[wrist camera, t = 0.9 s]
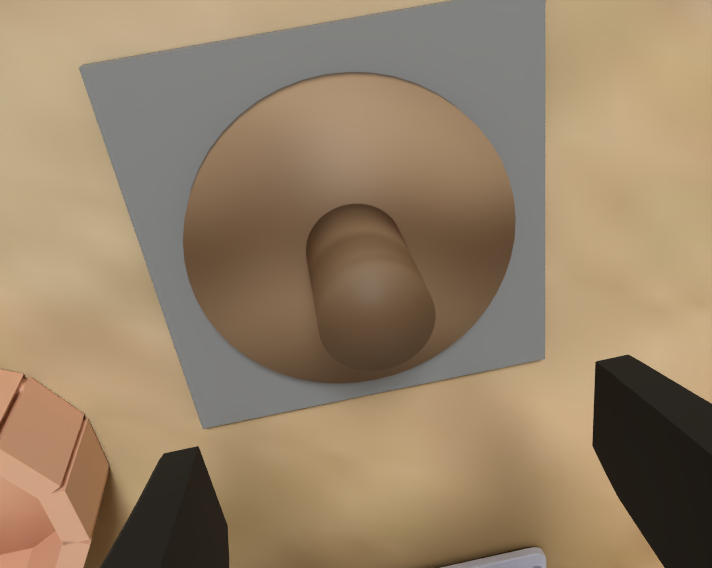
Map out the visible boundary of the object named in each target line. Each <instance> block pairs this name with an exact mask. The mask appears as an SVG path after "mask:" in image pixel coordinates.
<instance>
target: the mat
mask: <svg viewBox="0 0 712 568" xmlns="http://www.w3.org/2000/svg"><path fill="white" fill-rule="evenodd" d="M79 69H80V72H81V75H82V78H83V81H84V84H85V87H86V90H87V93H88V96H89V99H90V102H91V104H92V107H93V110H94V113H95V116H96V119H97V122H98V125H99V128H100V131H101V134H102V137H103V139H104V142H105V145H106V148H107V151H108V154H109V157H110V160H111V163H112V166H113V169H114V172H115V174H116V177H117V180H118V183H119V186H120V189H121V192H122V195H123V198H124V201H125V204H126V206H127V209H128V212H129V215H130V218H131V221H132V224H133V227H134V230H135V233H136V236H137V239H138V241H139V244H140V247H141V250H142V253H143V256H144V259H145V262H146V265H147V268H148V271H149V274H150V276H151V279H152V282H153V285H154V288H155V291H156V294H157V297H158V300H159V303H160V306H161V309H162V311H163V314H164V317H165V320H166V323H167V326H168V329H169V332H170V335H171V338H172V341H173V344H174V346H175V349H176V352H177V355H178V358H179V361H180V364H181V367H182V370H183V373H184V376H185V378H186V381H187V384H188V387H189V390H190V393H191V396H192V399H193V402H194V405H195V408H196V411H197V413H198V416H199V419H200V422H201V425H202V428H203V429H205V428H210V427H215V426H219V425H224V424H229V423H234V422H239V421H244V420H249V419H254V418H259V417H263V416H268V415H273V414H278V413H283V412H288V411H293V410H298V409H303V408H307V407H312V406H317V405H322V404H327V403H332V402H337V401H342V400H347V399H351V398H356V397H361V396H366V395H371V394H376V393H381V392H386V391H391V390H396V389H400V388H405V387H410V386H415V385H420V384H425V383H430V382H435V381H440V380H444V379H449V378H454V377H459V376H464V375H469V374H474V373H479V372H484V371H488V370H493V369H498V368H503V367H508V366H513V365H518V364H523V363H528V362H532V361H537V360H542V359H545V0H452V1H446V2H440V3H434V4H429V5H423V6H417V7H411V8H406V9H400V10H394V11H388V12H383V13H377V14H371V15H365V16H360V17H354V18H348V19H343V20H337V21H331V22H325V23H320V24H314V25H308V26H302V27H297V28H291V29H285V30H279V31H274V32H268V33H262V34H257V35H251V36H245V37H239V38H234V39H228V40H222V41H216V42H211V43H205V44H199V45H193V46H188V47H182V48H176V49H171V50H165V51H159V52H153V53H148V54H142V55H136V56H130V57H125V58H119V59H113V60H107V61H102V62H96V63H90V64H84V65H82V66H81V67H79ZM343 72H368V73H377V74H383V75H389V76H395V77H398V78H401V79H404V80H407V81H411V82H414V83H417V84H419V85H421V86H423V87H425V88H427V89H429V90H431V91H433V92H436V93H437V94H439V95H440V96H442V97H443V98H445V99H446V100H448V101H449V102H451V103H452V104H454V105H455V106H456V107H457V108H458V109H459V110H460V111H461V112H462V113H464V114H465V115H466V116H467V117H468V118H469V119H470V120H471V121H472V122H473V123H474V124H476V125H477V126H478V127H479V129H480V130H481V131H482V132H483V134H484V135H485V136H486V137H487V138H488V140H489V141H490V142H491V144H492V145H493V147H494V149H495V150H496V152H497V154H498V155H499V157H500V159H501V160H502V163H503V165H504V168H505V170H506V173H507V175H508V178H509V181H510V185H511V189H512V193H513V197H514V205H515V216H516V222H515V239H514V244H513V250H512V255H511V259H510V262H509V265H508V268H507V271H506V274H505V277H504V279H503V281H502V283H501V285H500V287H499V289H498V292H497V293H496V295H495V296H494V298H493V300H492V301H491V303H490V304H489V306H488V308H487V309H486V310H485V312H484V313H483V314H482V315H481V317H480V318H479V319H478V320H477V322H476V323H475V324H474V325H473V326H472V327H471V328H470V329H469V330H468V331H467V332H466V333H465V334H464V335H463V336H462V337H461V338H459V339H458V340H457V341H456V342H454V343H453V344H452V345H451V346H449V347H448V348H447V349H446V350H444V351H442V352H441V353H439V354H438V355H436V356H434V357H433V358H431V359H430V360H428V361H426V362H424V363H422V364H420V365H418V366H416V367H414V368H411V369H409V370H406V371H403V372H401V373H398V374H395V375H392V376H388V377H384V378H380V379H376V380H370V381H363V382H357V383H324V382H314V381H308V380H303V379H298V378H294V377H291V376H288V375H284V374H281V373H278V372H276V371H274V370H271V369H269V368H267V367H264V366H262V365H260V364H259V363H257V362H255V361H254V360H252V359H250V358H248V357H247V356H245V355H244V354H243V353H241V352H240V351H239V350H237V349H236V348H235V347H233V346H232V345H231V344H230V343H229V342H228V341H227V340H226V339H225V338H224V337H223V336H222V335H221V334H220V333H219V332H218V331H217V330H216V329H215V328H214V326H213V325H212V324H211V322H210V321H209V320H208V318H207V317H206V316H205V314H204V312H203V310H202V309H201V307H200V305H199V303H198V302H197V300H196V298H195V295H194V293H193V290H192V288H191V285H190V282H189V279H188V275H187V271H186V266H185V262H184V251H183V230H184V219H185V214H186V209H187V205H188V200H189V196H190V191H191V188H192V185H193V182H194V180H195V177H196V174H197V172H198V169H199V167H200V165H201V164H202V162H203V160H204V158H205V156H206V154H207V153H208V151H209V149H210V148H211V146H212V145H213V144H214V143H215V141H216V140H217V139H218V137H219V136H220V135H221V133H222V132H223V131H224V130H225V129H226V128H227V127H228V126H229V125H230V124H231V123H232V122H233V121H234V120H235V119H236V118H237V117H238V116H239V115H240V114H241V113H243V112H244V111H245V110H247V109H248V108H249V107H251V106H252V105H253V104H254V103H256V102H257V101H259V100H260V99H262V98H264V97H266V96H267V95H269V94H271V93H273V92H275V91H276V90H278V89H280V88H283V87H285V86H288V85H291V84H293V83H296V82H298V81H301V80H304V79H308V78H312V77H316V76H320V75H325V74H334V73H343Z"/></svg>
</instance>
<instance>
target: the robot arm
mask: <svg viewBox="0 0 712 568" xmlns="http://www.w3.org/2000/svg"><path fill="white" fill-rule="evenodd" d="M593 448H594V450H595V452H596V454H597V456H598V458H599V460H600V462H601V464H602V466H603V469H604V471H605V473H606V475H607V477H608V479H609V481H610V482H611V484H612V486H613V488H614V490H615V492H616V494H617V496H618V498H619V499H620V501H621V502H622V504H623V505H624V507H625V508H626V510H627V512H628V513H629V515H630V516H631V518H632V519H633V521H634V522H635V524H636V525H637V527H638V528H639V530H640V531H641V533H642V534H643V536H644V537H645V539H646V540H647V542H648V543H649V545H650V546H651V548H652V549H653V551H654V552H655V554H656V555H657V557H658V558H659V560H660V561H661V563H662V564H663V566H664V567H665V568H712V404H711V403H709V402H708V401H706V400H704V399H703V398H701V397H699V396H697V395H696V394H694V393H692V392H691V391H689V390H687V389H686V388H684V387H682V386H681V385H679V384H677V383H676V382H674V381H672V380H671V379H669V378H667V377H666V376H664V375H662V374H661V373H659V372H657V371H656V370H654V369H652V368H651V367H649V366H647V365H646V364H644V363H642V362H640V361H639V360H637V359H635V358H633V357H632V356H630V355H624V356H620V357H615V358H610V359H606V360H601V361H596V365H595V392H594V419H593ZM100 568H229V547H228V526H227V523H226V520H225V517H224V515H223V512H222V509H221V507H220V504H219V501H218V498H217V496H216V493H215V490H214V487H213V485H212V482H211V479H210V477H209V474H208V471H207V468H206V466H205V463H204V460H203V457H202V455H201V452H200V449H199V447H198V446H197V447H193V448H188V449H183V450H178V451H174V452H169V453H164V454H163V456H162V457H161V458H160V460H159V461H158V463H157V465H156V467H155V469H154V471H153V473H152V475H151V477H150V479H149V481H148V483H147V484H146V486H145V488H144V490H143V492H142V494H141V496H140V498H139V500H138V501H137V503H136V505H135V507H134V509H133V511H132V512H131V514H130V516H129V518H128V520H127V522H126V523H125V525H124V527H123V529H122V530H121V532H120V534H119V535H118V537H117V539H116V541H115V542H114V544H113V546H112V548H111V549H110V551H109V553H108V554H107V556H106V558H105V560H104V561H103V563H102V565H101V566H100ZM440 568H546V556H545V554H544V552H543V550H542V549H541V548H537V547H531V548H527V549H522V550H518V551H513V552H509V553H504V554H500V555H495V556H490V557H486V558H481V559H477V560H472V561H468V562H463V563H459V564H454V565H449V566H445V567H440Z"/></svg>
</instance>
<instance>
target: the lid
mask: <svg viewBox="0 0 712 568" xmlns="http://www.w3.org/2000/svg"><path fill="white" fill-rule="evenodd" d="M515 222H516V216H515V205H514V197H513V193H512V189H511V185H510V181H509V178H508V175H507V173H506V170H505V168H504V165H503V163H502V160H501V159H500V157H499V155H498V154H497V152H496V150H495V149H494V147H493V145H492V144H491V142H490V141H489V140H488V138H487V137H486V136H485V135H484V134H483V132H482V131H481V130H480V129H479V127H478V126H477V125H476V124H474V123H473V122H472V121H471V120H470V119H469V118H468V117H467V116H466V115H465V114H464V113H462V112H461V111H460V110H459V109H458V108H457V107H456V106H455V105H454V104H452V103H451V102H449V101H448V100H446V99H445V98H443V97H442V96H440V95H439V94H437V93H436V92H433V91H431V90H429V89H427V88H425V87H423V86H421V85H419V84H417V83H414V82H411V81H407V80H404V79H401V78H398V77H395V76H389V75H383V74H377V73H368V72H343V73H334V74H325V75H320V76H316V77H312V78H308V79H304V80H301V81H298V82H296V83H293V84H291V85H288V86H285V87H283V88H280V89H278V90H276V91H275V92H273V93H271V94H269V95H267V96H266V97H264V98H262V99H260V100H259V101H257V102H256V103H254V104H253V105H252V106H251V107H249V108H248V109H247V110H245V111H244V112H243V113H241V114H240V115H239V116H238V117H237V118H236V119H235V120H234V121H233V122H232V123H231V124H230V125H229V126H228V127H227V128H226V129H225V130H224V131H223V132H222V133H221V135H220V136H219V137H218V139H217V140H216V141H215V143H214V144H213V145H212V146H211V148H210V149H209V151H208V153H207V154H206V156H205V158H204V160H203V162H202V164H201V165H200V167H199V169H198V172H197V174H196V177H195V180H194V182H193V185H192V188H191V191H190V196H189V200H188V205H187V209H186V214H185V219H184V230H183V251H184V262H185V266H186V271H187V275H188V279H189V282H190V285H191V288H192V290H193V293H194V295H195V298H196V300H197V302H198V303H199V305H200V307H201V309H202V310H203V312H204V314H205V316H206V317H207V318H208V320H209V321H210V322H211V324H212V325H213V326H214V328H215V329H216V330H217V331H218V332H219V333H220V334H221V335H222V336H223V337H224V338H225V339H226V340H227V341H228V342H229V343H230V344H231V345H232V346H233V347H235V348H236V349H237V350H239V351H240V352H241V353H243V354H244V355H245V356H247V357H248V358H250V359H252V360H254V361H255V362H257V363H259V364H260V365H262V366H264V367H267V368H269V369H271V370H274V371H276V372H278V373H281V374H284V375H288V376H291V377H294V378H298V379H303V380H308V381H314V382H324V383H357V382H363V381H370V380H376V379H380V378H384V377H388V376H392V375H395V374H398V373H401V372H403V371H406V370H409V369H411V368H414V367H416V366H418V365H420V364H422V363H424V362H426V361H428V360H430V359H431V358H433V357H434V356H436V355H438V354H439V353H441V352H442V351H444V350H446V349H447V348H448V347H449V346H451V345H452V344H453V343H454V342H456V341H457V340H458V339H459V338H461V337H462V336H463V335H464V334H465V333H466V332H467V331H468V330H469V329H470V328H471V327H472V326H473V325H474V324H475V323H476V322H477V320H478V319H479V318H480V317H481V315H482V314H483V313H484V312H485V310H486V309H487V308H488V306H489V304H490V303H491V301H492V300H493V298H494V296H495V295H496V293H497V292H498V289H499V287H500V285H501V283H502V281H503V279H504V277H505V274H506V271H507V268H508V265H509V262H510V259H511V255H512V250H513V244H514V239H515Z"/></svg>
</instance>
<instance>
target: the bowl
mask: <svg viewBox="0 0 712 568" xmlns="http://www.w3.org/2000/svg"><path fill="white" fill-rule="evenodd" d="M23 375H24V374H21V373H16V372H11V371H6V370H1V369H0V568H83V567H84V564H85V560H86V557H87V554H88V551H89V547H90V544H91V540H92V536H93V532H94V528H95V524H96V520H97V516H98V512H99V508H100V505H101V501H102V497H103V493H104V489H105V485H106V481H107V477H108V473H109V469H108V467H109V464H108V462H107V459H106V457H105V455H104V453H103V451H102V448H101V446H100V444H99V442H98V440H97V437H96V435H95V433H94V431H93V429H92V426H91V424H90V422H89V420H88V419H83V417H84V414H83V413H81V412H80V411H79V410H77V409H76V408H74V407H73V406H71V405H70V404H68V403H67V402H66V401H64V400H63V399H61V398H60V397H58V396H57V395H56V394H54V393H53V392H51V391H50V390H48V389H47V388H45V387H44V386H43V385H41V384H40V383H38V382H37V381H35V380H34V379H33V378H31V377H30V378H28V379H26V378H23Z"/></svg>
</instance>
